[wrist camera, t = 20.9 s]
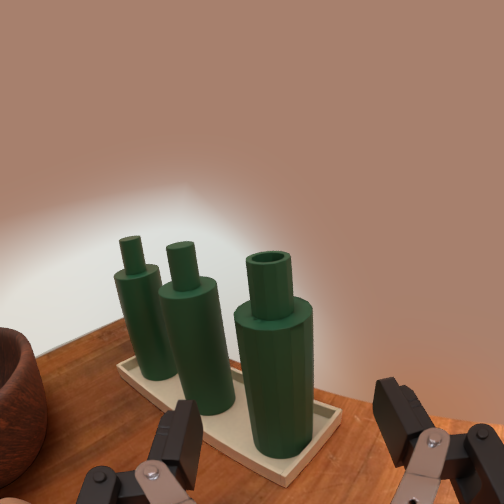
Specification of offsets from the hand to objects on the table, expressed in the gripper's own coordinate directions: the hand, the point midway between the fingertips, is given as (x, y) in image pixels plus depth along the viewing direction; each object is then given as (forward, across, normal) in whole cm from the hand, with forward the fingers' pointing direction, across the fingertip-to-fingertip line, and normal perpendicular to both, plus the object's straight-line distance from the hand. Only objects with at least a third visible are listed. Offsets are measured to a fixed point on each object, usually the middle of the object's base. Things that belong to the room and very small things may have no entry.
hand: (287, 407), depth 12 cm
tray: (+17, +8, +15) cm, 24 cm away
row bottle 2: (+17, +8, +14) cm, 23 cm away
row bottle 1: (+23, +15, +14) cm, 31 cm away
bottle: (+10, 0, +14) cm, 17 cm away
